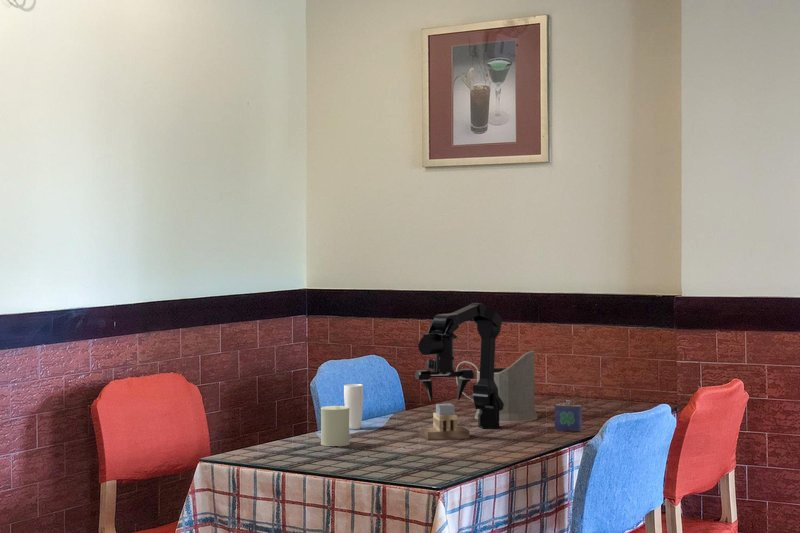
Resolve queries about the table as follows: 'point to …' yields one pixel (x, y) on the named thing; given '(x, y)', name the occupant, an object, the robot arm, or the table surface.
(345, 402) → the drinking glass
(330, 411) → the can
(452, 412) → the block
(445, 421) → the block
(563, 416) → the flask
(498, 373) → the pitcher
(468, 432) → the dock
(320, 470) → the table surface
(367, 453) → the table surface
